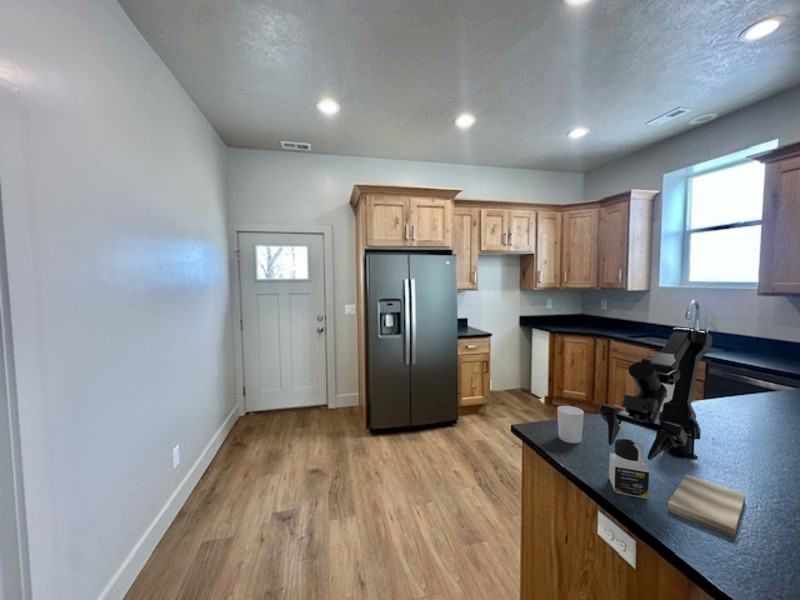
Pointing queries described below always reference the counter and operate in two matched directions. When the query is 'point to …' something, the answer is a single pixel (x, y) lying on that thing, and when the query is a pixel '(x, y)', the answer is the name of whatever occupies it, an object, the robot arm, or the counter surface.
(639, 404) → the robot arm
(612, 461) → the medicine bottle
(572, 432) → the white cup
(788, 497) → the counter surface
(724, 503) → the tan flat slab
